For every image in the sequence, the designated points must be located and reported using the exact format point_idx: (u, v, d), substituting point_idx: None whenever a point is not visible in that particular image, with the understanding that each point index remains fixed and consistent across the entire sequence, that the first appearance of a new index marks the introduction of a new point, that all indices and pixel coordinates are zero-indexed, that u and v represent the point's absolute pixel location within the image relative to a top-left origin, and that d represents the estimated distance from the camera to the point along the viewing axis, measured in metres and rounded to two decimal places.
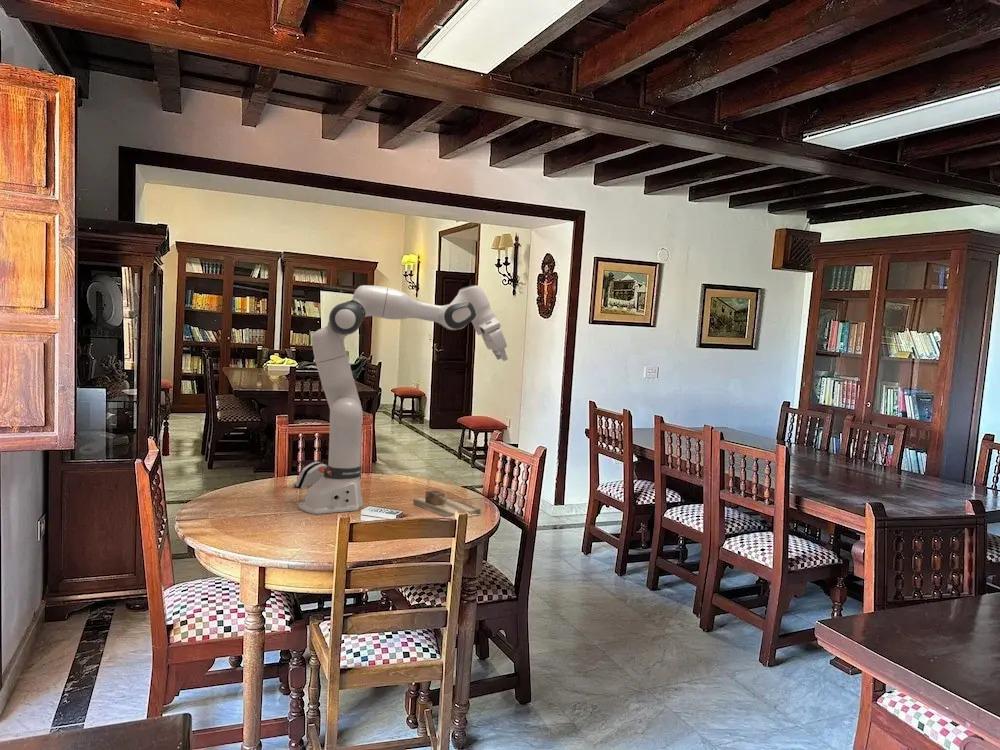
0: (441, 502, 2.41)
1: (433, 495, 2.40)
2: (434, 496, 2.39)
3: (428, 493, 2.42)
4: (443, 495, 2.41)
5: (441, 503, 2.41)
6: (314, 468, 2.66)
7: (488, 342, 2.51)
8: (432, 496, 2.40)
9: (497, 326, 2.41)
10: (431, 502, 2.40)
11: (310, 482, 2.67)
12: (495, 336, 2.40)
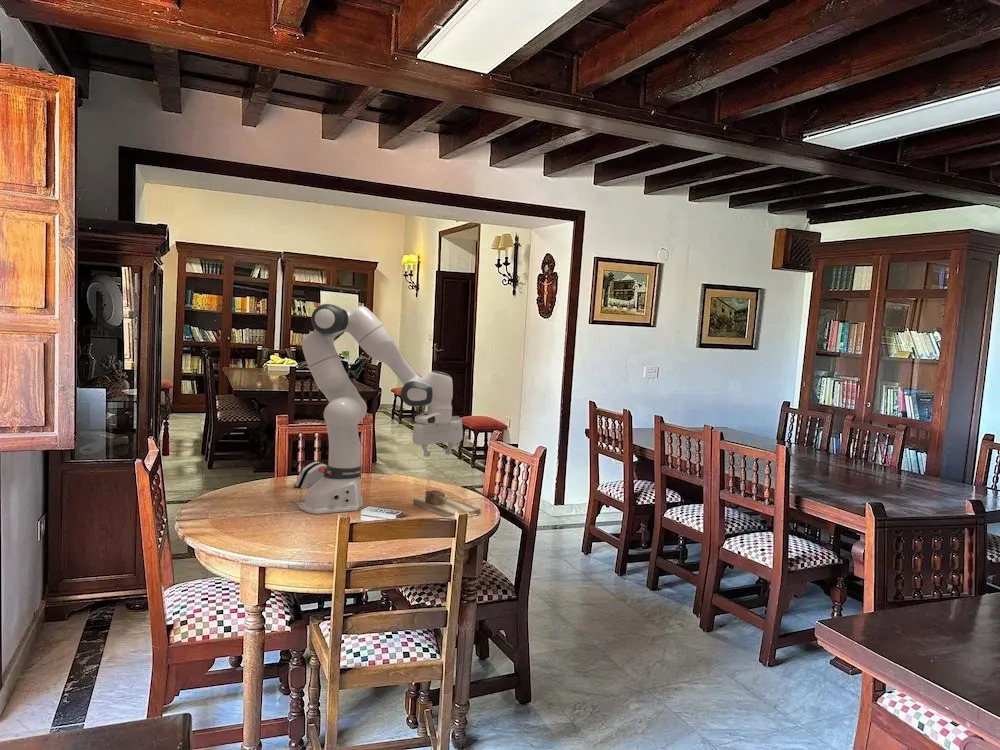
0: (441, 502, 2.41)
1: (433, 495, 2.40)
2: (434, 496, 2.39)
3: (428, 493, 2.42)
4: (443, 495, 2.41)
5: (441, 503, 2.41)
6: (314, 468, 2.66)
7: None
8: (432, 496, 2.40)
9: (422, 421, 2.34)
10: (431, 502, 2.40)
11: (310, 482, 2.67)
12: (415, 428, 2.35)
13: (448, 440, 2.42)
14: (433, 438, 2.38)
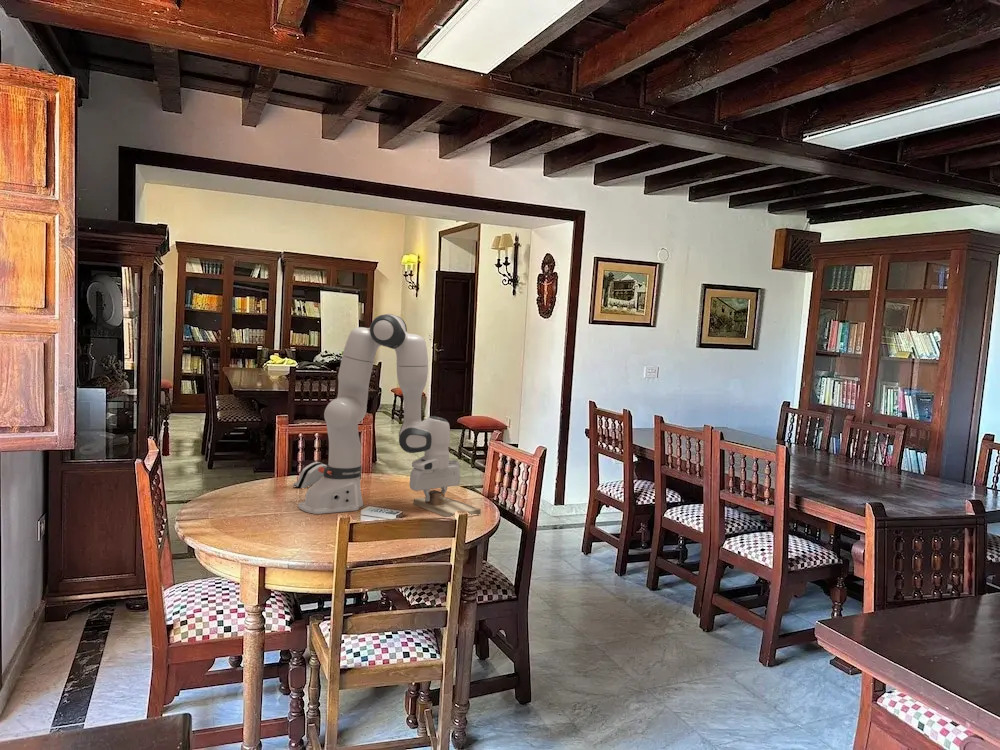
0: (441, 502, 2.41)
1: (433, 495, 2.40)
2: (434, 496, 2.39)
3: None
4: (443, 495, 2.41)
5: (441, 503, 2.41)
6: (314, 468, 2.66)
7: None
8: (432, 496, 2.40)
9: (419, 468, 2.35)
10: (431, 502, 2.40)
11: (310, 482, 2.67)
12: (412, 474, 2.36)
13: (445, 485, 2.43)
14: (430, 484, 2.38)
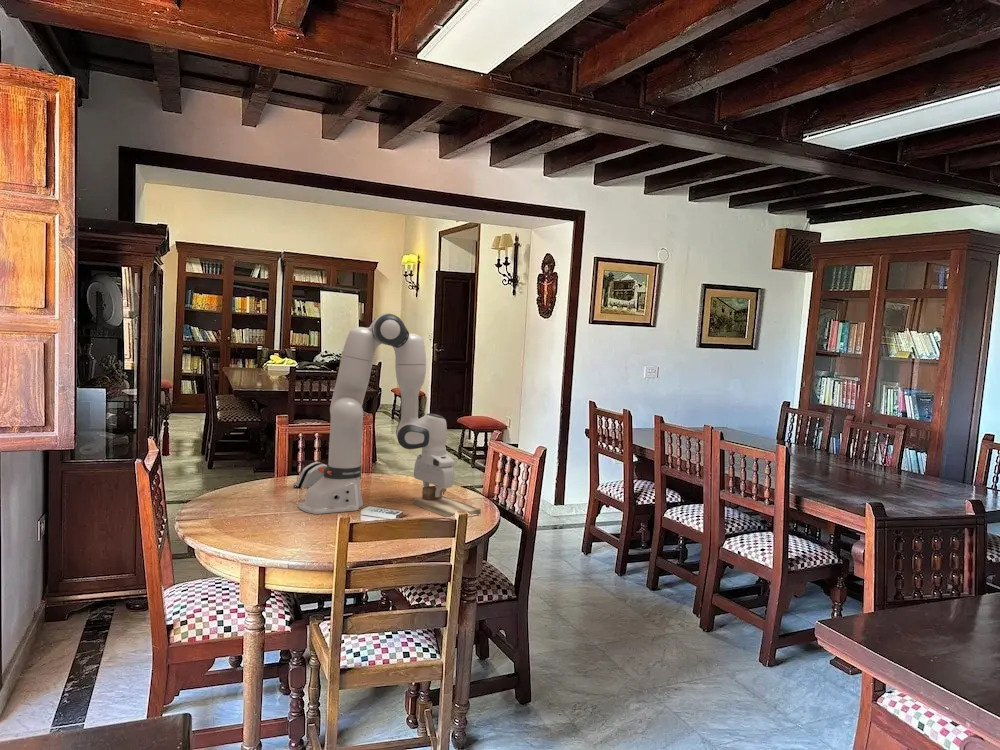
0: None
1: None
2: None
3: (432, 490, 2.46)
4: None
5: None
6: (314, 468, 2.66)
7: (426, 473, 2.48)
8: None
9: (451, 464, 2.43)
10: (437, 497, 2.48)
11: (310, 483, 2.67)
12: (447, 472, 2.41)
13: None
14: None
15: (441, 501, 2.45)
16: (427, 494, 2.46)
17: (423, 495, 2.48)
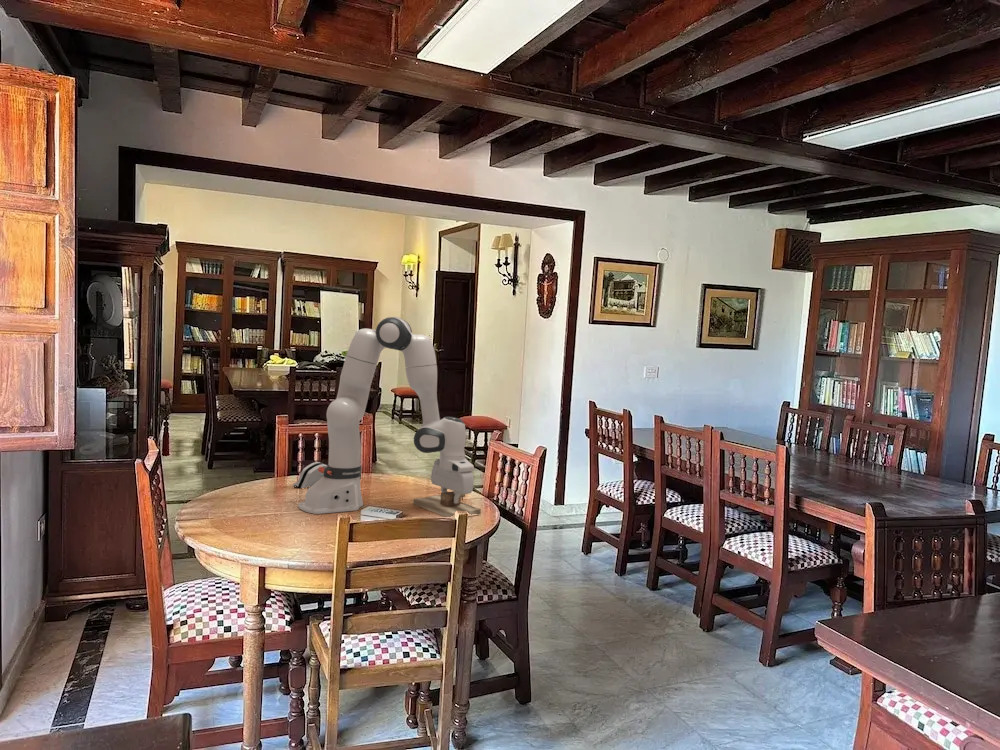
0: None
1: None
2: None
3: (451, 496, 2.38)
4: None
5: None
6: (314, 468, 2.66)
7: (444, 479, 2.40)
8: None
9: (471, 469, 2.35)
10: None
11: (311, 483, 2.67)
12: (467, 478, 2.33)
13: None
14: None
15: None
16: (446, 500, 2.38)
17: (441, 501, 2.40)
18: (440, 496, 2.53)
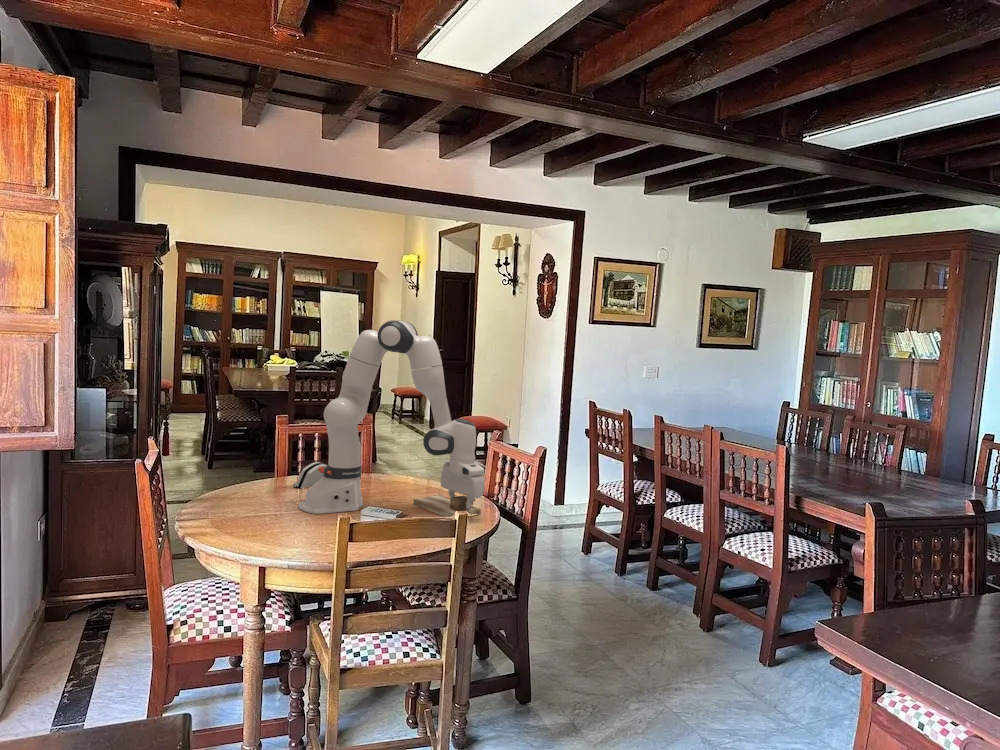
0: None
1: None
2: None
3: (461, 500, 2.34)
4: None
5: None
6: (314, 468, 2.66)
7: (454, 482, 2.36)
8: (466, 501, 2.35)
9: (481, 473, 2.30)
10: None
11: (310, 483, 2.67)
12: (477, 482, 2.28)
13: None
14: None
15: (441, 501, 2.45)
16: (455, 505, 2.33)
17: (451, 506, 2.35)
18: (440, 496, 2.53)
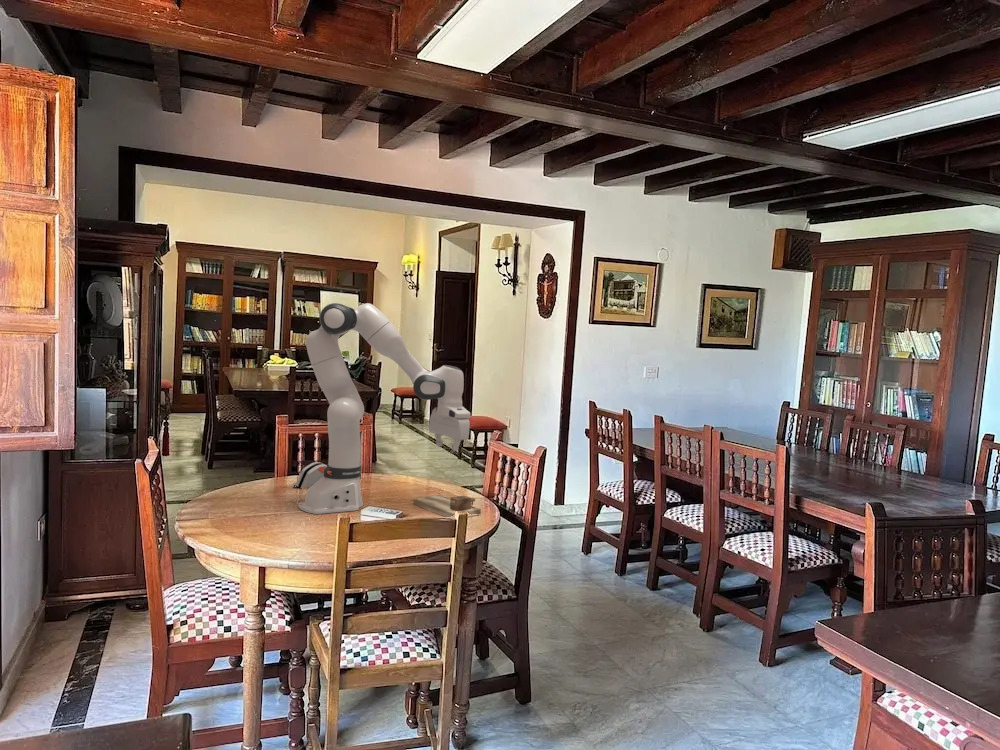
0: None
1: (468, 499, 2.36)
2: (469, 500, 2.36)
3: (461, 500, 2.34)
4: None
5: None
6: (314, 468, 2.65)
7: (441, 426, 2.45)
8: (466, 501, 2.35)
9: (467, 416, 2.39)
10: (465, 507, 2.35)
11: (310, 483, 2.66)
12: (463, 424, 2.37)
13: None
14: None
15: (441, 501, 2.45)
16: (455, 505, 2.33)
17: (451, 506, 2.35)
18: (440, 496, 2.53)
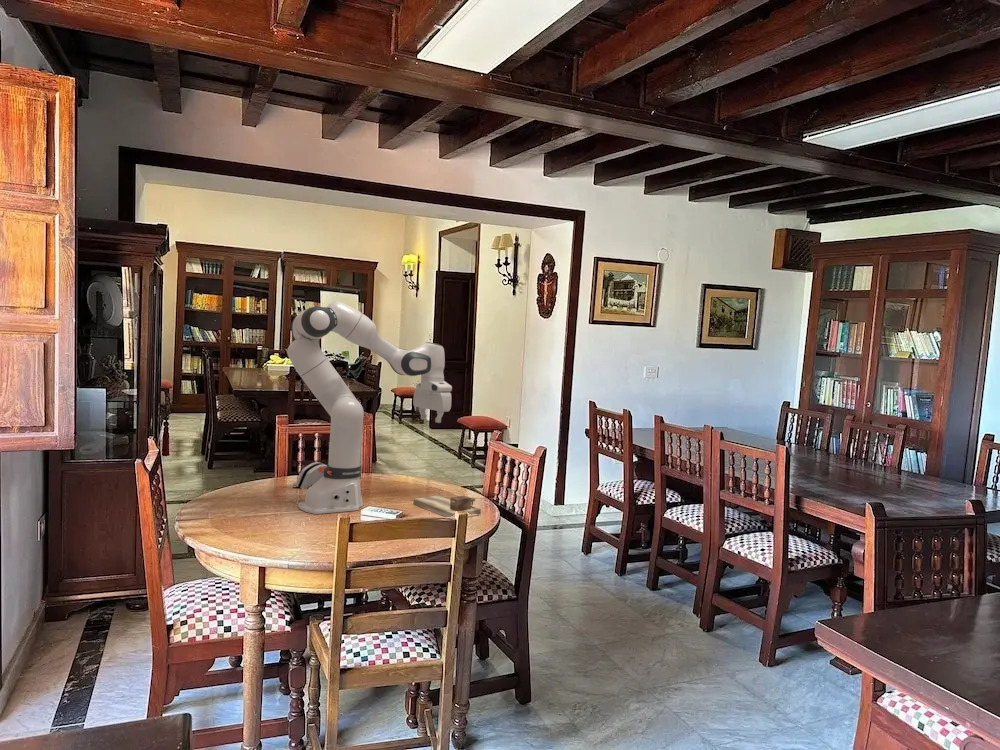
0: None
1: (468, 499, 2.36)
2: (469, 500, 2.36)
3: (461, 500, 2.34)
4: None
5: None
6: (314, 468, 2.65)
7: (425, 400, 2.59)
8: (466, 501, 2.35)
9: (449, 389, 2.53)
10: (465, 507, 2.35)
11: (310, 483, 2.66)
12: (445, 397, 2.51)
13: None
14: None
15: (441, 501, 2.45)
16: (455, 505, 2.33)
17: (451, 506, 2.35)
18: (440, 496, 2.53)
